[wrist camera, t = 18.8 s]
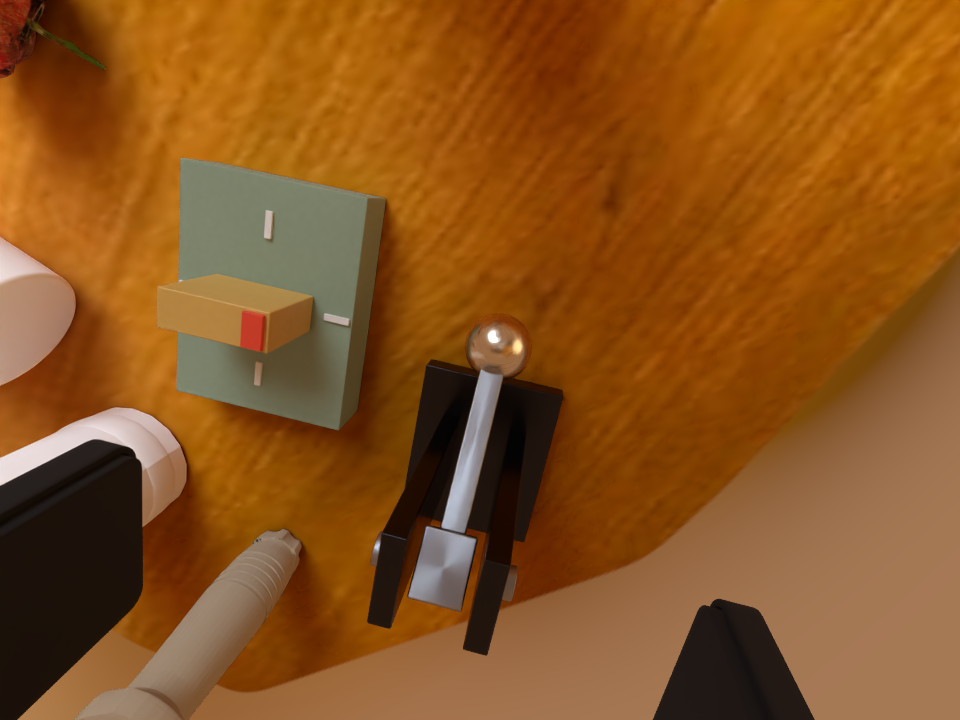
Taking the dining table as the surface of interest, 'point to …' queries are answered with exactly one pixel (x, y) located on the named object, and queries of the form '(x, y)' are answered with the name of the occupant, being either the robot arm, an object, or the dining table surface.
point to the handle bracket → (498, 497)
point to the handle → (206, 637)
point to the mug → (30, 311)
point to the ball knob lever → (469, 463)
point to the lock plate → (281, 286)
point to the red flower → (25, 34)
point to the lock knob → (234, 312)
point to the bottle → (124, 428)
